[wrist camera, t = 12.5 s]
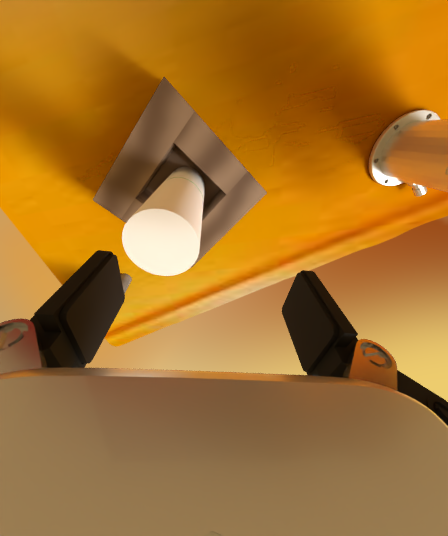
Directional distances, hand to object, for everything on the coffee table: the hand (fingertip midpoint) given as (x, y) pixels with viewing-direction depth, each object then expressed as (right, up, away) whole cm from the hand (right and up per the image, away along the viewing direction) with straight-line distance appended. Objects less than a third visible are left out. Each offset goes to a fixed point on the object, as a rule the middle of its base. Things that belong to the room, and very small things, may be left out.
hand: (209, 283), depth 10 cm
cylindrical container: (-7, +17, +29) cm, 34 cm away
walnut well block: (-7, +18, +30) cm, 35 cm away
